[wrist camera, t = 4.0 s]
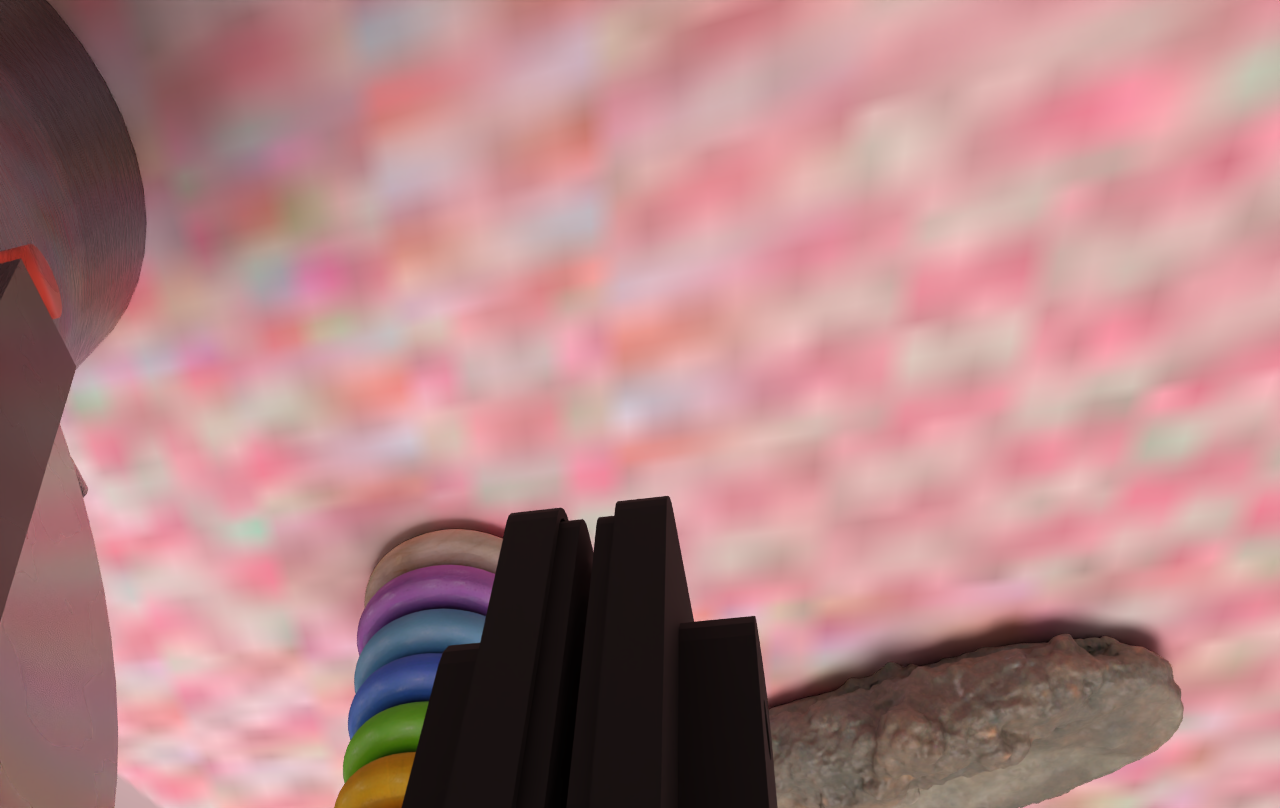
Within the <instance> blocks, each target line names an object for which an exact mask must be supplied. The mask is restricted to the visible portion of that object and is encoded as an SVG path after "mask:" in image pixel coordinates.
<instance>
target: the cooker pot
mask: <svg viewBox="0 0 1280 808" xmlns="http://www.w3.org/2000/svg"><path fill="white" fill-rule="evenodd" d="M145 233H146V215H145V203H144V192H143V186H142V181H141V177H140V172H139V168H138V163H137V159H136V154H135V152H134V149H133V146H132V143H131V140H130V137H129V135H128V132H127V129H126V126H125V123H124V121H123V118H122V116H121V114H120V112H119V110H118V108H117V106H116V104H115V102H114V100H113V98H112V95H111V93H110V91H109V89H108V87H107V85H106V83H105V81H104V80H103V78H102V76H101V75H100V73H99V72H98V70H97V69H96V67H95V65H94V64H93V62H92V61H91V59H90V57H89V56H88V54H87V53H86V51H85V49H84V48H83V46H82V45H81V43H80V42H79V41H78V39H77V38H76V37H75V36H74V34H73V33H72V32H71V30H70V29H69V28H68V27H67V25H66V24H65V23H64V21H63V20H62V19H61V18H60V16H59V15H58V14H57V12H56V11H55V10H54V9H53V8H52V7H51V5H50V4H49V3H48V2H47V1H46V0H0V251H4V250H8V249H12V248H16V247H20V246H23V245H27V244H33V245H34V246H36V247H37V248H38V249H39V251H40V252H41V253H42V254H43V256H44V257H45V259H46V261H47V262H48V264H49V266H50V268H51V270H52V273H53V275H54V277H55V280H56V283H57V285H58V289H59V292H60V297H61V302H62V314H61V316H60V317H59V318H56V319H52V320H53V322H54V324H55V326H56V328H57V330H58V332H59V334H60V335H61V337H62V339H63V341H64V343H65V345H66V347H67V349H68V351H69V353H70V355H71V357H72V359H73V361H74V363H75V365H76V369H77V368H78V367H79V366H80V365H81V363H82V362H83V361H84V360H85V359H86V358H87V357H88V356H89V355H90V354H91V353H92V352H93V351H94V350H95V348H96V347H97V346H98V345H99V344H100V343H101V342H102V341H103V340H104V339H105V338H106V337H107V336H108V334H109V333H110V332H111V331H112V330H113V329H114V327H115V326H116V324H117V323H118V321H119V319H120V318H121V316H122V315H123V313H124V312H125V310H126V309H127V307H128V304H129V302H130V300H131V297H132V295H133V292H134V290H135V287H136V285H137V283H138V279H139V274H140V270H141V266H142V261H143V257H144V249H145ZM71 459H72V458H71ZM72 463H73V466H74V469H75V473H76V476H77V479H78V482H79V486H80V489H81V492H82V496H83V497H84V496H85V495H86V494H87V491H88V487H87V485H86V483H85V482H84V480H83V478H82V476H81V474H80V472H79V470H78V469H77V467H76V465H75V463H74V461H73V459H72Z"/></svg>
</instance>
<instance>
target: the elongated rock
mask: <svg viewBox="0 0 1280 808" xmlns="http://www.w3.org/2000/svg"><path fill="white" fill-rule="evenodd" d="M1183 710H1184V707H1183V704H1182V701H1181V690H1180V688H1179V686H1178V685H1177V684H1176V683H1175V681H1174V679H1173V671H1172V667H1171V664H1170V663H1169V662H1168V661H1167V660H1165V659H1164V658H1162V657H1160V656H1159V655H1157V654H1156V653H1154V652H1152V651H1149V650H1148V649H1146V648H1144V647H1142V646H1129V645H1127V644H1124V643H1120V642H1118V641H1117V640H1116V639H1114V638H1111V637H1108V636H1103V637H1101V638H1097V637H1096V638H1095V637H1092V638H1086V639H1073V638H1072V636H1071V635H1069V634H1061V635H1058V636H1055V637H1053V638H1052V639H1051V640H1050V641H1049V642H1048V643H1020V644H1013V645H1007V646H1003V647H983V648H979V649H977V650H976V651H975V652H969V653H964V654H962V655H960V656H958V657H953V658H943V659H942V660H940V662H938V663H933V664H927V665H924V666H917V665H914V664H909V665H908V666H907V667H902V666H900V665H898V664H897V663H894V662H889V663H887V664H886V665H885V666H884V667H883V668H882V669H880V670H879V671H877V672H876V673H875V674H873V675H872V676H869V677H864V678H858V679H856V678H850V679H848V680H847V681H846V682H845V684H844V685H842V686H841V687H840V688H839V689H837V690H835V691H831V692H828V693H824V694H821V695H818V696H812V697H807V698H803V699H801V700H795V701H793V702H791V703H788V704H784V705H780V706H776V707H774V708H771V709H769V719H770V729H771V739H772V749H773V761H774V772H775V783H776V795H777V806H778V808H1019V807H1020V808H1022V807H1025V806H1027V805H1030V804H1032V803H1036V804H1037V803H1040V802H1042V801H1044V800H1046V799H1051V798H1055V797H1058V796H1061V795H1063V794H1065V793H1068V792H1069V791H1070V790H1071V789H1074V788H1075V787H1078V786H1080V785H1083V784H1085V783H1088V782H1090V781H1092V780H1094V779H1097V778H1100V777H1103V776H1105V775H1108V774H1110V773H1113V772H1115V771H1117V770H1119V769H1120V768H1122V767H1124V766H1125V765H1127V764H1130V763H1132V762H1135V761H1137V760H1140V759H1141V758H1143V757H1145V756H1147V755H1149V754H1151V753H1152V752H1155V751H1157V750H1158V749H1159V747H1160V746H1162V745H1163V744H1164V743H1166V742H1167V741H1168V740H1169V739H1170V738H1171V737H1172V736H1173V734H1174V733H1175V732H1176V731H1177V729H1178V728H1179V725H1180V723H1181V722H1182V719H1183Z"/></svg>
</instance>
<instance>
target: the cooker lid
mask: <svg viewBox="0 0 1280 808" xmlns="http://www.w3.org/2000/svg"><path fill="white" fill-rule="evenodd" d="M61 314H62V302H61V297H60V292H59V289H58V285H57V283H56V280H55V277H54V275H53V273H52V270H51V268H50V266H49V264H48V262H47V261H46V259H45V257H44V256H43V254H42V253H41V252H40V251H39V249H38V248H37V247H36V246H34V245H33V244H27V245H23V246H20V247H16V248H12V249H8V250H4V251H0V808H114V806H115V794H116V784H117V755H118V720H117V697H116V679H115V670H114V660H113V650H112V640H111V632H110V626H109V619H108V613H107V606H106V600H105V593H104V587H103V582H102V578H101V573H100V568H99V563H98V558H97V553H96V548H95V544H94V539H93V535H92V531H91V527H90V523H89V520H88V516H87V512H86V508H85V504H84V500H83V496H82V492H81V489H80V486H79V482H78V479H77V476H76V473H75V469H74V466H73V463H72V459H71V456H70V453H69V449H68V446H67V443H66V441H65V438H64V435H63V432H62V429H61V426H60V420H61V417H62V414H63V410H64V407H65V403H66V400H67V397H68V393H69V390H70V387H71V383H72V380H73V377H74V373H75V370H76V365H75V363H74V361H73V359H72V357H71V355H70V353H69V351H68V349H67V347H66V345H65V343H64V341H63V339H62V337H61V335H60V334H59V332H58V330H57V328H56V326H55V324H54V322H53V320H52V319H56V318H59V317H60V316H61Z"/></svg>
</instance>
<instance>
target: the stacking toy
mask: <svg viewBox="0 0 1280 808" xmlns="http://www.w3.org/2000/svg"><path fill="white" fill-rule="evenodd" d="M502 541H503V539H502V538H500V537H497V536H494V535H491V534H488V533H483V532H479V531H473V530H463V529H449V530H440V531H434V532H430V533H426V534H423V535H420V536H417V537H414V538H412V539H409V540H407V541H405V542H403V543H402V544H400V545H398V546H397V547H395V548H394V549H393V550H391V551H390V552H389V553H387V554H386V555H385V556H384V557H383V558H382V559H381V561H380V562H379V563H378V565H377V566H376V567H375V569H374V571H373V573H372V574H371V576H370V579H369V582H368V585H367V588H366V593H365V609H364V611H363V613H362V616H361V618H360V621H359V625H358V632H357V646H358V652H359V659H358V662H357V665H356V670H355V678H354V685H355V693H356V695H355V697H354V699H353V701H352V704H351V707H350V711H349V717H348V731H349V736H350V740H351V741H350V743H349V745H348V747H347V750H346V753H345V756H344V762H343V778H344V782H345V784H344V786H343V787H342V789H341V791H340V792H339V795H338V797H337V800H336V803H335V807H334V808H401V807H402V804H403V800H404V796H405V792H406V788H407V784H408V780H409V777H410V773H411V769H412V765H413V761H414V757H415V753H416V749H417V746H418V742H419V738H420V734H421V730H422V726H423V722H424V719H425V715H426V711H427V707H428V703H429V699H430V695H431V691H432V688H433V684H434V680H435V676H436V672H437V668H438V664H439V662H440V659H441V656H442V654H443V652H444V650H445V649H446V648H447V647H448V646H450V645H460V644H470V643H480V641H481V636H482V632H483V627H484V623H485V618H486V614H487V609H488V605H489V600H490V596H491V591H492V586H493V582H494V577H495V573H496V568H497V564H498V559H499V555H500V550H501V545H502Z"/></svg>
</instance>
